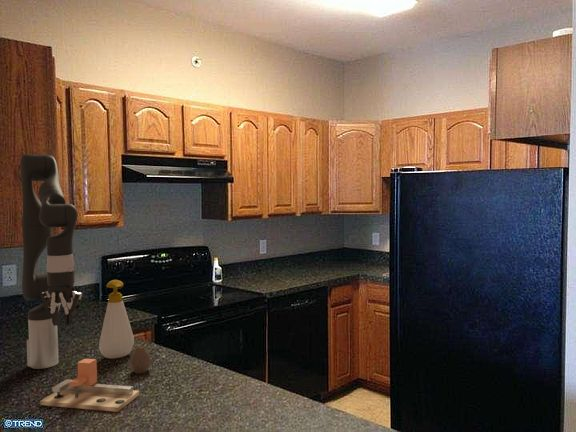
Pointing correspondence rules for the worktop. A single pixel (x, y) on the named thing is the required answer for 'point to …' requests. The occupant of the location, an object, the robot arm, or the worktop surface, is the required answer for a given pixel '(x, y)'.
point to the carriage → (85, 374)
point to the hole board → (89, 400)
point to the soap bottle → (116, 326)
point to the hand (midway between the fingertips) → (62, 325)
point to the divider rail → (94, 388)
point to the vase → (140, 360)
